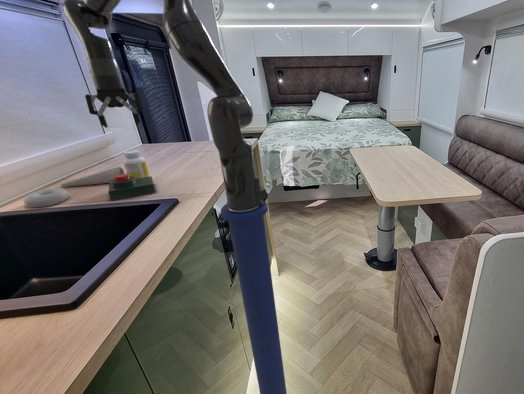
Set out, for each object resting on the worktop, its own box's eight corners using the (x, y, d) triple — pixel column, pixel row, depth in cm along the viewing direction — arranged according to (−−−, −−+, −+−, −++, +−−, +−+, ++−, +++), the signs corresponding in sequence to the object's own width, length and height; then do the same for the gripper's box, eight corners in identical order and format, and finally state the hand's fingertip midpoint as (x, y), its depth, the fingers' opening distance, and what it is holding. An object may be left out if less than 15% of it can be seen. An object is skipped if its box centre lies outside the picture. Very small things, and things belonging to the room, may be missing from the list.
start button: (130, 177, 99) (128, 172, 98) (130, 181, 96) (128, 176, 95) (115, 180, 96) (113, 175, 96) (115, 183, 93) (113, 178, 93)
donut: (33, 212, 85) (75, 199, 93) (27, 201, 83) (71, 189, 91) (21, 204, 89) (63, 193, 97) (16, 194, 88) (59, 184, 96)
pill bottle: (149, 178, 112) (141, 148, 108) (152, 182, 108) (143, 151, 103) (129, 181, 109) (119, 151, 104) (130, 186, 104) (120, 154, 99)
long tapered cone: (49, 181, 97) (117, 167, 104) (57, 177, 103) (121, 165, 110) (57, 196, 99) (123, 182, 106) (65, 192, 104) (127, 179, 112)
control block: (153, 184, 106) (150, 171, 104) (155, 192, 98) (151, 178, 96) (112, 191, 99) (108, 177, 98) (111, 200, 92) (106, 186, 90)
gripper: (133, 74, 99) (146, 122, 105) (78, 74, 92) (96, 126, 98) (133, 74, 93) (147, 125, 100) (75, 74, 86) (94, 129, 92)
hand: (122, 125), depth 99 cm, fingers open, 8 cm apart
